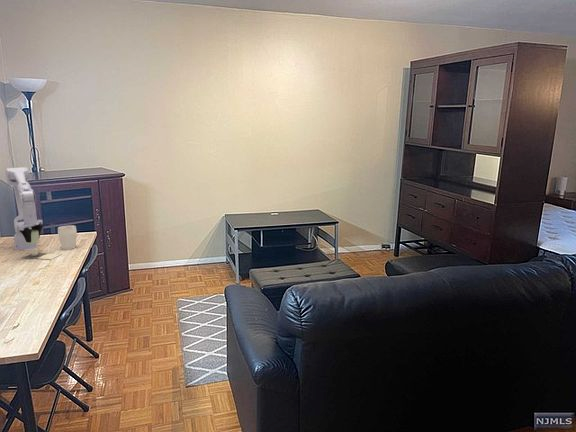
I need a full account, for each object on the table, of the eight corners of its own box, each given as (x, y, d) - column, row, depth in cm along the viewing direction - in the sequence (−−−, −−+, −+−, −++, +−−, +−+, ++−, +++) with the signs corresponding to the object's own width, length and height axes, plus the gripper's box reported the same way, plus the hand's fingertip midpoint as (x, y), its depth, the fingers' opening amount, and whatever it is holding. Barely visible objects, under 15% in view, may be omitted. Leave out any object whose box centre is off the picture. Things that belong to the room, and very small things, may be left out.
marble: (30, 256, 215) (29, 250, 214) (34, 254, 218) (33, 249, 217) (35, 256, 215) (34, 251, 214) (39, 255, 218) (38, 249, 217)
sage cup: (24, 243, 213) (23, 232, 211) (32, 240, 218) (30, 229, 216) (34, 244, 212) (32, 232, 211) (41, 241, 217) (40, 230, 216)
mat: (21, 259, 213) (21, 257, 212) (33, 253, 221) (33, 252, 221) (50, 260, 211) (50, 259, 211) (62, 255, 219) (62, 254, 219)
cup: (72, 251, 227) (70, 229, 224) (56, 250, 227) (53, 229, 224) (81, 246, 235) (79, 225, 233) (65, 245, 236) (63, 225, 233)
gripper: (26, 218, 204) (29, 245, 207) (46, 211, 218) (49, 237, 221) (13, 217, 205) (16, 244, 208) (34, 211, 219) (37, 236, 222)
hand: (32, 240), depth 215 cm, fingers closed on sage cup, 5 cm apart
